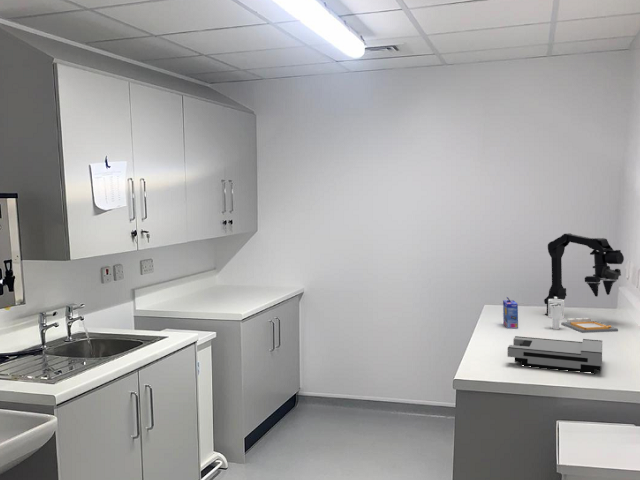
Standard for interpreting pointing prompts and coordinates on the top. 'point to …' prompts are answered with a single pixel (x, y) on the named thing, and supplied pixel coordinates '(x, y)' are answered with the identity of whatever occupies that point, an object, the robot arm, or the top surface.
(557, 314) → the white piece
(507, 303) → the ink cartridge box
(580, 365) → the game console
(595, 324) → the panel
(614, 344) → the top surface
